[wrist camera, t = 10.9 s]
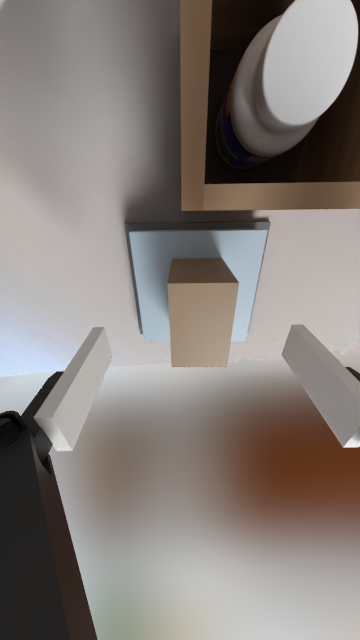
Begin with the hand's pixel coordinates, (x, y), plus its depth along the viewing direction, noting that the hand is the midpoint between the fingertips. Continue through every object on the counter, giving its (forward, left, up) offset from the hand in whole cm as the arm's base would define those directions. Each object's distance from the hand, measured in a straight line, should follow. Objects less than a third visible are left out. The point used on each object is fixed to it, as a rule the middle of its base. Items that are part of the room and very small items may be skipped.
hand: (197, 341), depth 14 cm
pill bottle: (+4, +14, -12) cm, 19 cm away
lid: (0, 0, -11) cm, 11 cm away
